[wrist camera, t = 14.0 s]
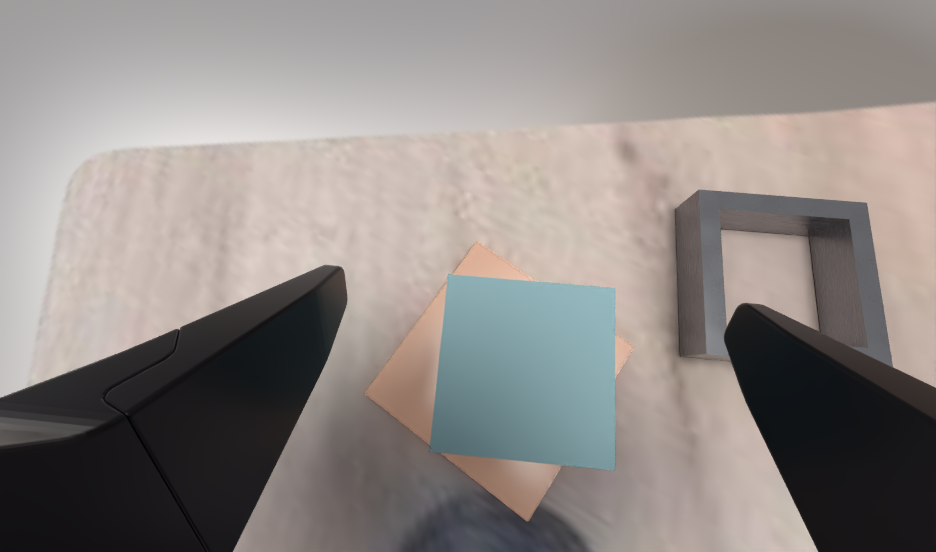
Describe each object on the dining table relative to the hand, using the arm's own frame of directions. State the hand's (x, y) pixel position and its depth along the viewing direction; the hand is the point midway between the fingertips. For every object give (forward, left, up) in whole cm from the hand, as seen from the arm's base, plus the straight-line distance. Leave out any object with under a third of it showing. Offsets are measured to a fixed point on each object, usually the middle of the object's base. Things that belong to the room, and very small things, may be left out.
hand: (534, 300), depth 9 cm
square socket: (+11, -10, -13) cm, 19 cm away
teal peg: (-1, -1, -12) cm, 12 cm away
